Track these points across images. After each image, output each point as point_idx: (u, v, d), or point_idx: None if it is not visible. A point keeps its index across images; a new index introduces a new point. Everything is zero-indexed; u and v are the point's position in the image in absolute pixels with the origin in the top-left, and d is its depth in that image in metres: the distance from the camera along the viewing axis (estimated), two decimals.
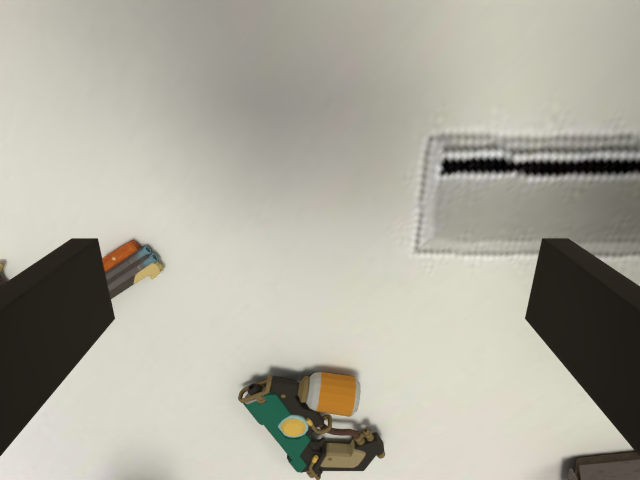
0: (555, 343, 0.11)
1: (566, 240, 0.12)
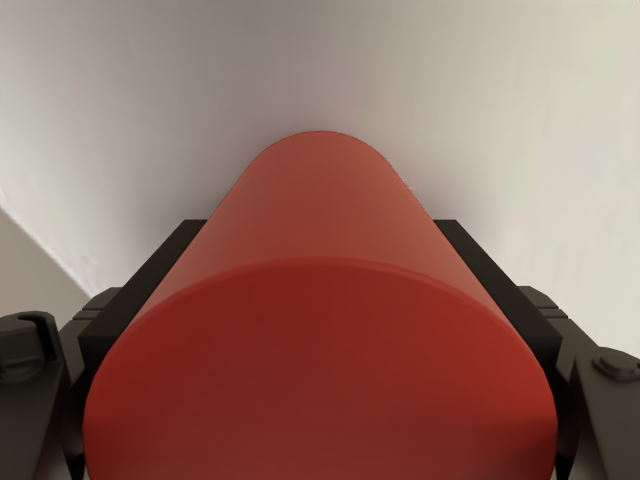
0: None
1: (452, 221, 0.13)
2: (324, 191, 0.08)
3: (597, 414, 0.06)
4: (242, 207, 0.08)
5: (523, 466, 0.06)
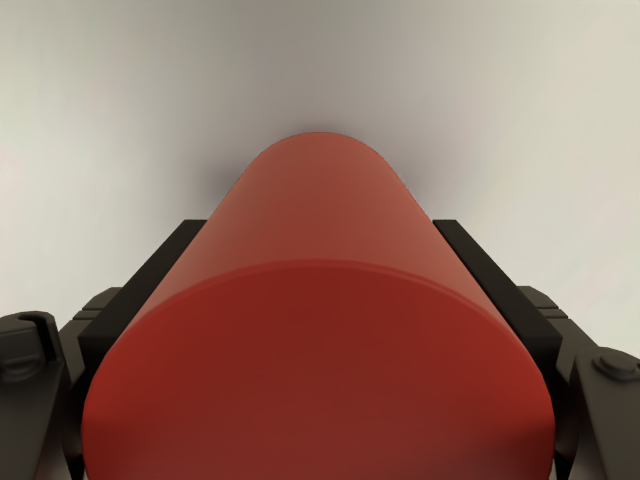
0: None
1: (453, 221, 0.13)
2: (322, 192, 0.08)
3: (597, 414, 0.06)
4: (241, 208, 0.08)
5: (521, 467, 0.06)
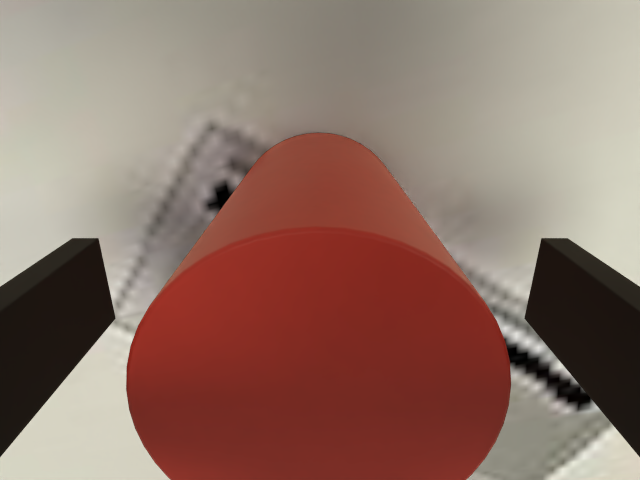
0: (555, 343, 0.11)
1: (565, 240, 0.12)
2: (321, 181, 0.10)
3: None
4: (253, 195, 0.10)
5: (484, 401, 0.08)
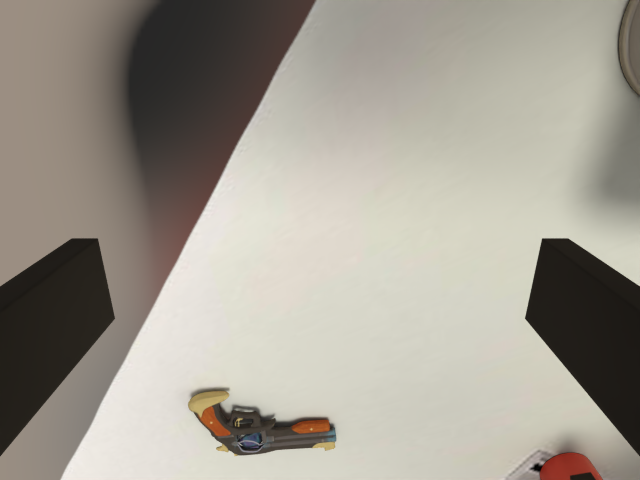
0: (556, 343, 0.11)
1: (566, 240, 0.12)
2: None
3: None
4: None
5: None
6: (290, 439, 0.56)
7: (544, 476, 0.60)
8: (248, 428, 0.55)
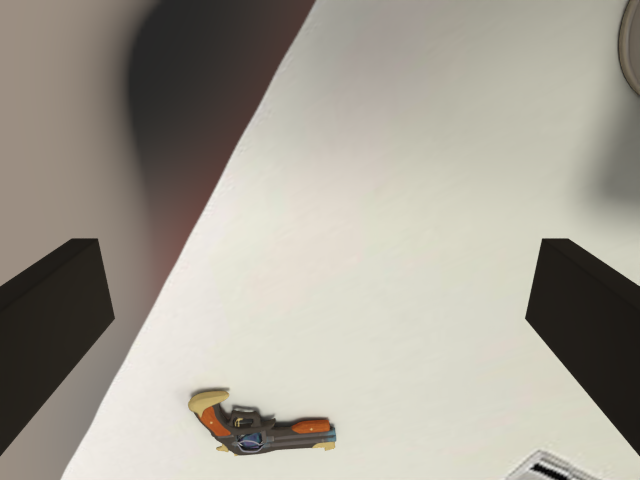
0: (556, 343, 0.11)
1: (566, 240, 0.12)
2: None
3: None
4: None
5: None
6: (290, 439, 0.56)
7: None
8: (248, 428, 0.55)
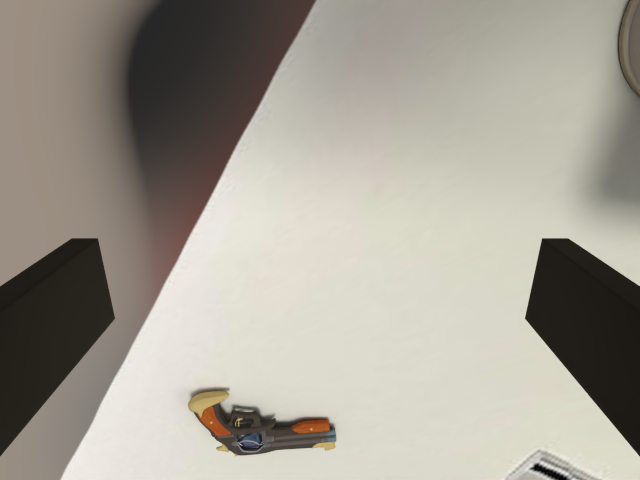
0: (556, 343, 0.11)
1: (566, 240, 0.12)
2: None
3: None
4: None
5: None
6: (290, 439, 0.56)
7: None
8: (248, 428, 0.55)
